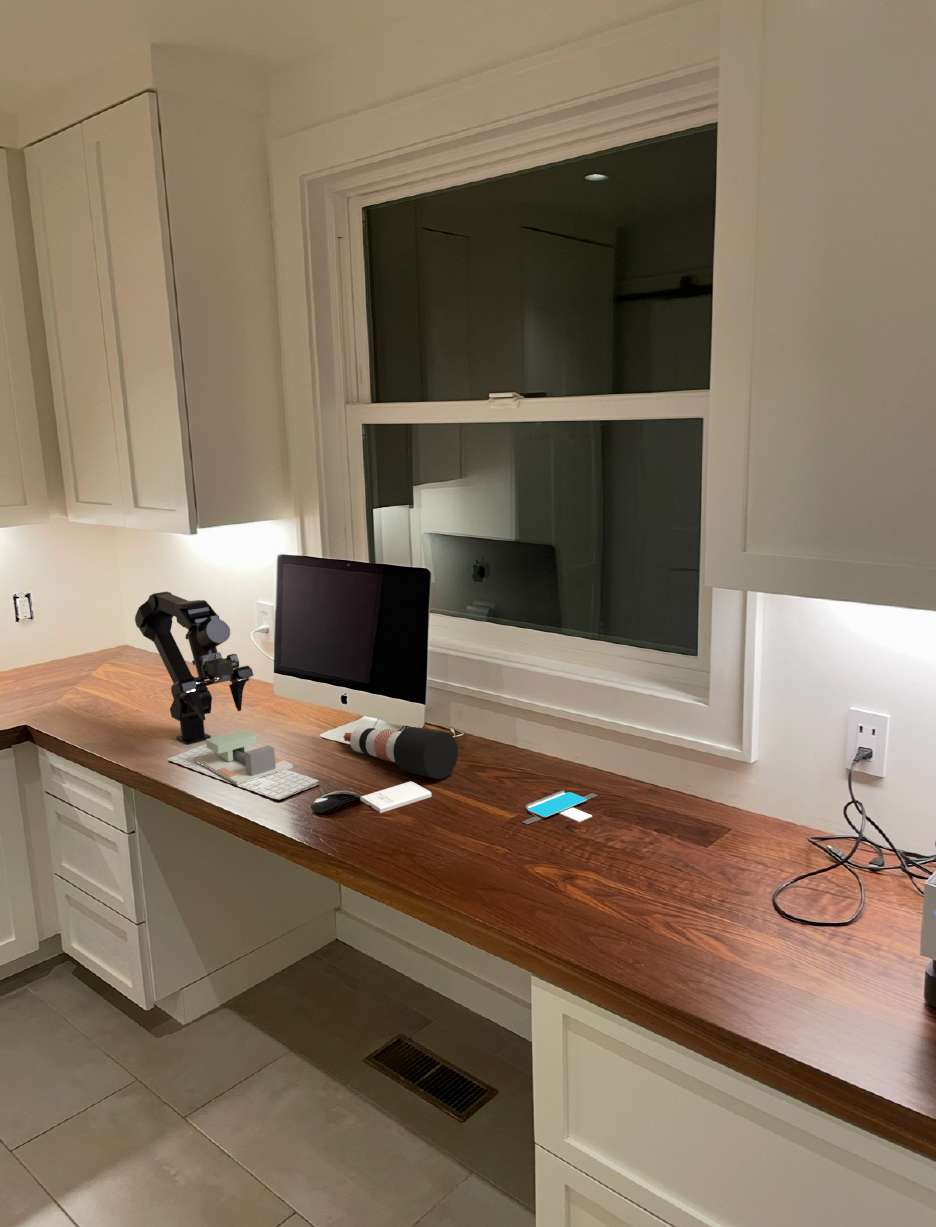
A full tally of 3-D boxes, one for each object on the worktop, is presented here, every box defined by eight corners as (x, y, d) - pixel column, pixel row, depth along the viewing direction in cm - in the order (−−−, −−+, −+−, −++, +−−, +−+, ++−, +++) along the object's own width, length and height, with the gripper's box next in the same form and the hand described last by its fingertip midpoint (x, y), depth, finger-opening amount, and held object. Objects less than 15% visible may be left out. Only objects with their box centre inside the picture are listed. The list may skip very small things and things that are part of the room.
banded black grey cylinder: (357, 761, 227) (367, 721, 229) (451, 782, 203) (462, 737, 205) (325, 753, 220) (336, 711, 222) (418, 774, 196) (430, 727, 198)
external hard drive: (431, 799, 193) (380, 815, 186) (410, 787, 200) (360, 802, 193) (431, 792, 193) (380, 808, 186) (410, 780, 200) (359, 795, 192)
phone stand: (549, 837, 174) (549, 829, 174) (506, 818, 183) (506, 810, 183) (620, 807, 186) (620, 799, 186) (576, 790, 195) (576, 782, 195)
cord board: (196, 762, 217) (193, 738, 216) (249, 746, 226) (247, 724, 225) (237, 785, 203) (234, 760, 202) (292, 767, 212) (290, 743, 211)
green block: (207, 757, 217) (205, 739, 216) (245, 746, 223) (244, 729, 223) (219, 764, 213) (217, 745, 212) (258, 752, 219) (256, 734, 218)
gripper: (180, 652, 208) (198, 719, 207) (254, 637, 220) (271, 700, 219) (162, 663, 217) (180, 727, 215) (235, 648, 229) (251, 708, 227)
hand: (222, 715), depth 219 cm, fingers open, 9 cm apart
